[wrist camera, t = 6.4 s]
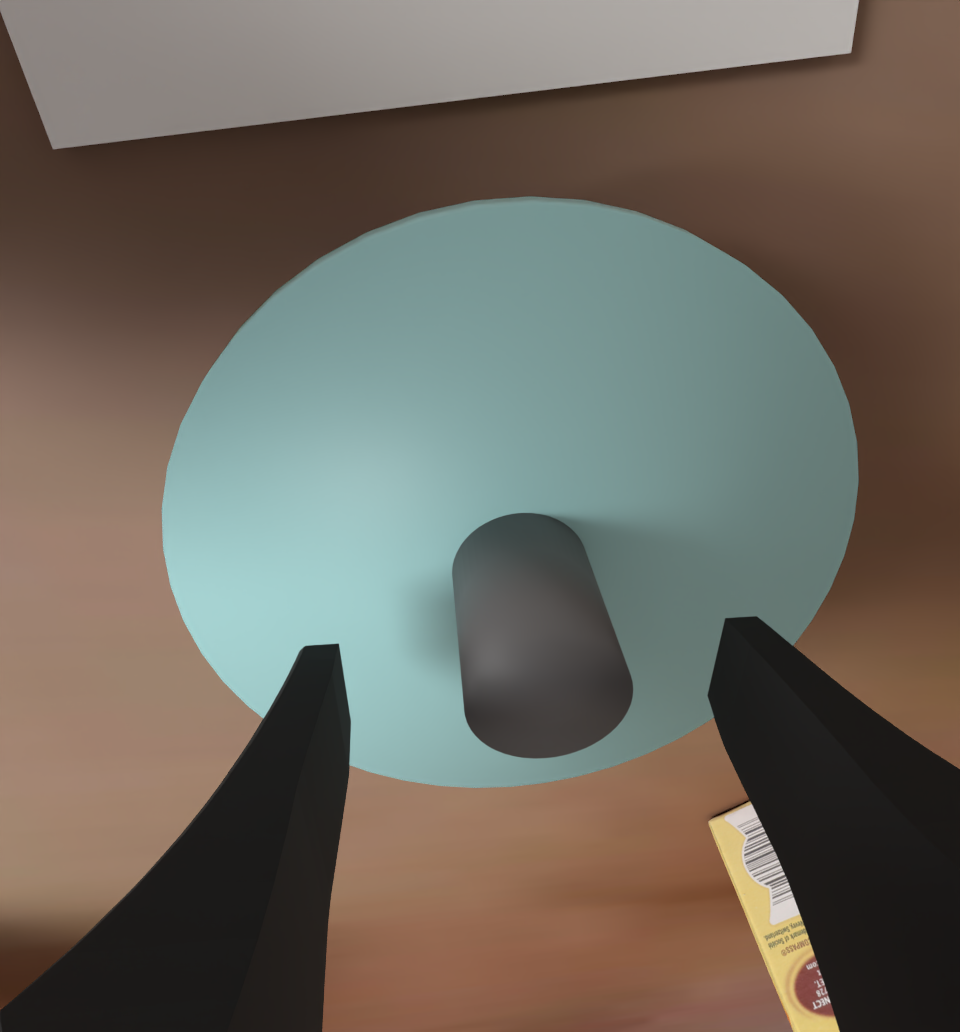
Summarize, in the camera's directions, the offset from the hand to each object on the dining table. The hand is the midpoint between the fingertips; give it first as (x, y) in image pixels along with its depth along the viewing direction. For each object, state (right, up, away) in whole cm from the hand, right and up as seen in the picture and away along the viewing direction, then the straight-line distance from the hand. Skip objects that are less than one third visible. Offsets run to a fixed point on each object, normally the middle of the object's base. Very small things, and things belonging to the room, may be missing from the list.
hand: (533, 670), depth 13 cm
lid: (0, +2, +2) cm, 3 cm away
